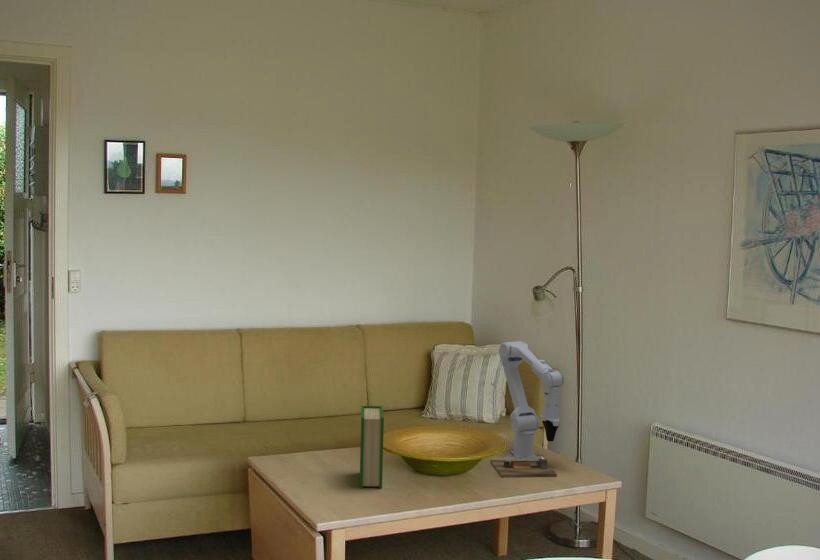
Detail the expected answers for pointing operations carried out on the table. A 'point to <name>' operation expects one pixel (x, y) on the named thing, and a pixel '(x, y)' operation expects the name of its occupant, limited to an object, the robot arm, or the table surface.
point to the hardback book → (371, 446)
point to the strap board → (523, 468)
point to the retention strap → (524, 458)
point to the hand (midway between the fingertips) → (550, 440)
